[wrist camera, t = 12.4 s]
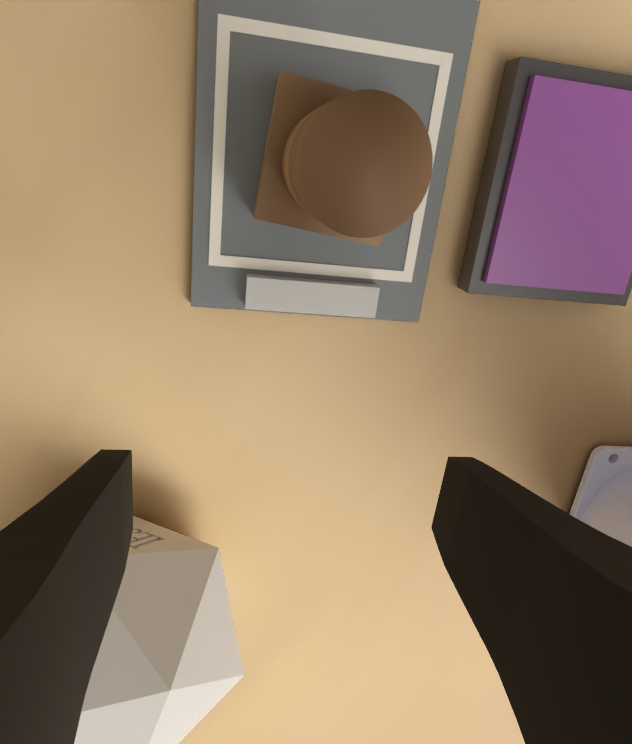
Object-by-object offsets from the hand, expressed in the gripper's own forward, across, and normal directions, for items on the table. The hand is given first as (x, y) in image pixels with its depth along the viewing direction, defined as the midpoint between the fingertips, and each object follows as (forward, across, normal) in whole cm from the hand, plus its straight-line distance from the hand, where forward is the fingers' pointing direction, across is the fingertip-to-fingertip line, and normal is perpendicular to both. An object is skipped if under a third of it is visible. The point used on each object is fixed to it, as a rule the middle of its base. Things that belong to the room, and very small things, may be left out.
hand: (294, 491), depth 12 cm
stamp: (+10, -2, -7) cm, 12 cm away
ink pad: (+10, -11, -7) cm, 16 cm away
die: (+10, +5, +11) cm, 16 cm away
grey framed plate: (+10, -2, -7) cm, 12 cm away
